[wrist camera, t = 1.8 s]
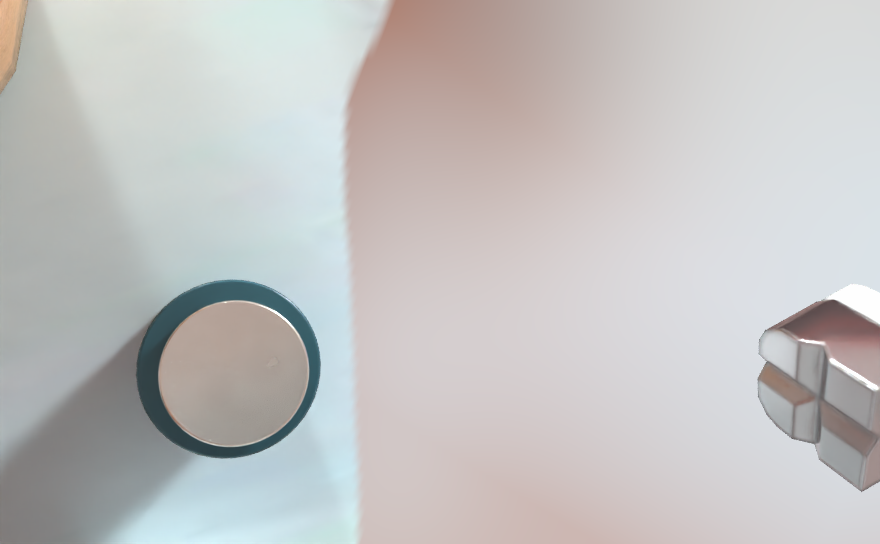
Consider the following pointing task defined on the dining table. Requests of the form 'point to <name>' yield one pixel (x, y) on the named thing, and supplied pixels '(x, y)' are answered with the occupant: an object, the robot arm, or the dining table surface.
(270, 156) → the dining table surface
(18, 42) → the pottery
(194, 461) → the dining table surface
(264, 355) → the spray can
